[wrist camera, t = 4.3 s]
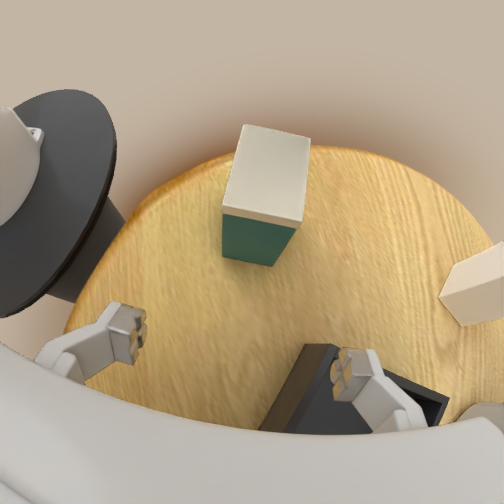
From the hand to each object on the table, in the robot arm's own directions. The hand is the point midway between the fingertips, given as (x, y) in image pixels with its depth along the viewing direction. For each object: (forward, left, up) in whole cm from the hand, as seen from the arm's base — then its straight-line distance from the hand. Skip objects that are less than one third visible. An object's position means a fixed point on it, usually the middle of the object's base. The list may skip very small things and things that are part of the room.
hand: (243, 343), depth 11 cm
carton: (-3, +11, -15) cm, 19 cm away
